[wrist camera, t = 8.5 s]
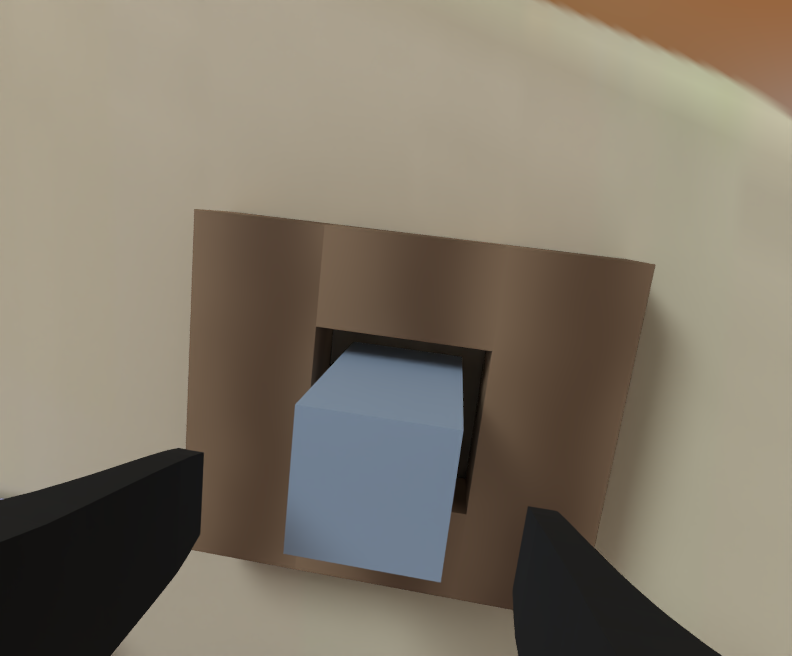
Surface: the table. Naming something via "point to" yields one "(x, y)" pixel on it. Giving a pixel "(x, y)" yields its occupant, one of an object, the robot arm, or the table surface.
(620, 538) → the table surface
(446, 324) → the socket block
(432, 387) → the square peg
